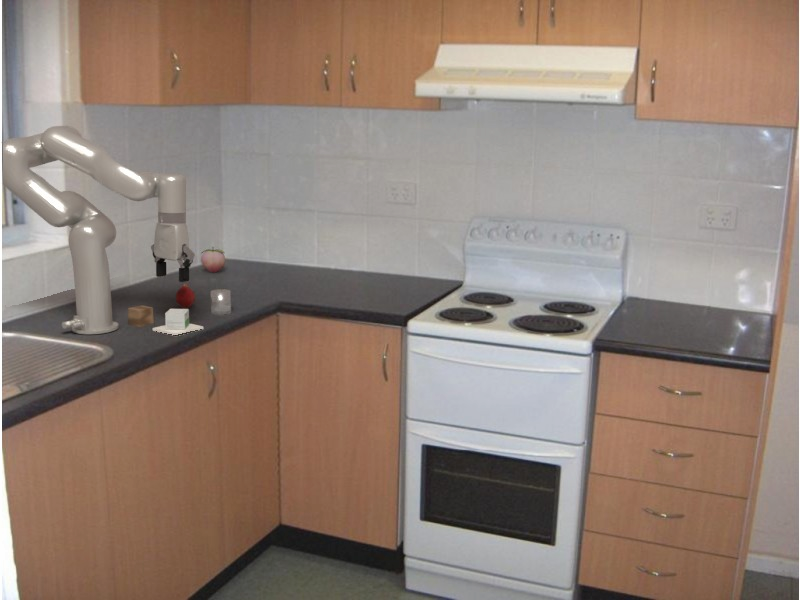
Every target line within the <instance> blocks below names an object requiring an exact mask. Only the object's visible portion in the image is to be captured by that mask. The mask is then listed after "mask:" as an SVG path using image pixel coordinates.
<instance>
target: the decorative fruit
mask: <svg viewBox="0 0 800 600" xmlns="http://www.w3.org/2000/svg"><path fill="white" fill-rule="evenodd" d="M211 247H212V248H211V249H210V248H209V249H204V250H202V251H201V254H202V255H201V257H200V258H201V259H200V262H201V265H202V266H203V268H204V269H206V270H207V271H209V272H212V273H217V272H218V271H220V270H221V269H223V267H224V266H225V263H226V256H225V251H224V250H222V249H220V248H218V249H217V248H215V249H214V246H211Z"/></svg>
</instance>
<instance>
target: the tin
mask: <svg viewBox="0 0 800 600" xmlns="http://www.w3.org/2000/svg"><path fill="white" fill-rule="evenodd" d="M231 294H232V293H231V290H230V289H228V288H227V289H225V288H223V289H222V288H221V289H220V288H219V289H218V288H217V289H212V290H210V309H211V310H210V311H211V313H212V314H214V315H213V316H225V315H224V314H228V315H230V313H231V314H232V300H231V299H232V298H231ZM212 314H211V315H212Z"/></svg>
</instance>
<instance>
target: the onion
mask: <svg viewBox="0 0 800 600" xmlns="http://www.w3.org/2000/svg"><path fill="white" fill-rule="evenodd" d="M195 296H196V295H195V292H194V290H192V289H191V288H190V287H188V284H187V283H184V284H183V285H182V287H180V288H179V289H178V290H177V292H176V295H175V301H176V303H177V304H178V306H180V307H181V308H182V309H189V308H190V307H191V306H192V305H193V304H194V302H195V298H196V297H195Z"/></svg>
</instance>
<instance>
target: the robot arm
mask: <svg viewBox="0 0 800 600" xmlns="http://www.w3.org/2000/svg"><path fill="white" fill-rule="evenodd" d="M2 142H3V184H2V185H3V186H4V187H5V188H6V190H8V191H9V192H11V193H12V194H13V195H14V196H15V197H17V199H19V200H20V201H21V202H23V203H24V204H25V205H26V206H27V207H28V208H29V209H30V210H32V211H33V212H34V213H36V214H37V215H38V216H39V217H40V218H42V219H43V220H44V221H45V222H46V223H47V224H48V225H50V226H52V227H54V228H64V227H67V226H68V227H69V228H71V229H70V231H69V234H68V245H69V251H70V255H71V260H72V261H71V263H72V271H73V279H74V293H75V294H74V295H75V307H76V315H73V318H72V319H71V320H67V321H62V322H61V328H62V329H64V330H65V329H69V328H71V329H72V332H73V333H75V334H79V335H101V334H107V333H111V332H114V331H117V330H118V329H119V328H120V327H119V323H118V322H116V321H114V320H113V306H112V294H111V292H112V291H111V278H110V277H111V276H110V267H109V261H108V259H109V258H108V255H107V254H108V253H107V249H106V248H108V247H109V246H111V245H113V243H114V242H115V240H116V237H117V228H116V226H115V224H114V222H113V221H112V220H111V219H110V217H108V216H107V215H106V214H105V213H103V212H102V211H101V209H99V208H97V207H96V206H95V205H94V204H93V203H92V202H90V201H89V200H88V199H87V198H85V196H83V195H81V194H79V193H77V192H75V191H71V190H65V191H64V190H63V191H60V190H58V188H55V187H54V186H53V185H51V183H49V182H48V181H47V180H46V179H45V178H43V177H42V176H40V175H39V174H37V173H36V172H34V171H33V170H32V169H31V168H34V167H39V166H42V165H46V164H49V163H52V162H56V161H59V162H61V163H64V164H66V165H68V166H70V167H71V168H73V169H76V170H78V171H80V172H82V173H84V174H86V175H88V176H89V177H91V178H92V179H93V180H94V181H96V182H97V183H99V184H100V185H102V186H103V187H104V188H107V190H110V191H112V192H113V193H115V194H118V195H119V196H122V197H123V198H126V199H129V200H130V201H134V202H143V201H146V200H149V199H152V198H153V199H154V198H157V217H158V219H157V222H156V225H155V230H154V242H153V243H154V244H152V245H150V249H151V252H152V256H153V258H154V263H155V273H156V274H155V276H156V277H157V278H161V277H166V276H167V261H166V260H168V261H171V262H172V261H173V262H175V261H177V263H178V265H179V266H180V267H179V268H178V282H179V283H184V282H189V281H190V268H191V267H192V263H193V262H194V259H195V255H196V254H195V252H193V251H192V250H191V248H190V242H189V241H190V240H189V232H188V226H187V193H186V192H187V186H186V185H187V182H186V177H185V175H183V174H180V173H160V172H159V173H158V172H153V171H145V170H144V171H140V172H136V171H134V170H131V169H130V168H127V167H126V166H125V165H122V164H121V163H118V162H117V161H116V160H114V159H113V158H112V157H111V156H110V154H109V152H108V151H107V150H106V149H105V148H104V147H103V146H100V145H98V144H97V143H94V142H93V141H90V140H89V139H87V138H84V137H83V136H82V134H81V133H80V132H79V131H78V130H77V129H76V128H74V127H73V126H68V125H55V126H51V127H48V128H47V129H46V130H44V132H42V133H37V134H33V135H30V136H24V137H23V136H22V137H14V138H13V137H11V138H8V139H5V140H4V141H2Z"/></svg>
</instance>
